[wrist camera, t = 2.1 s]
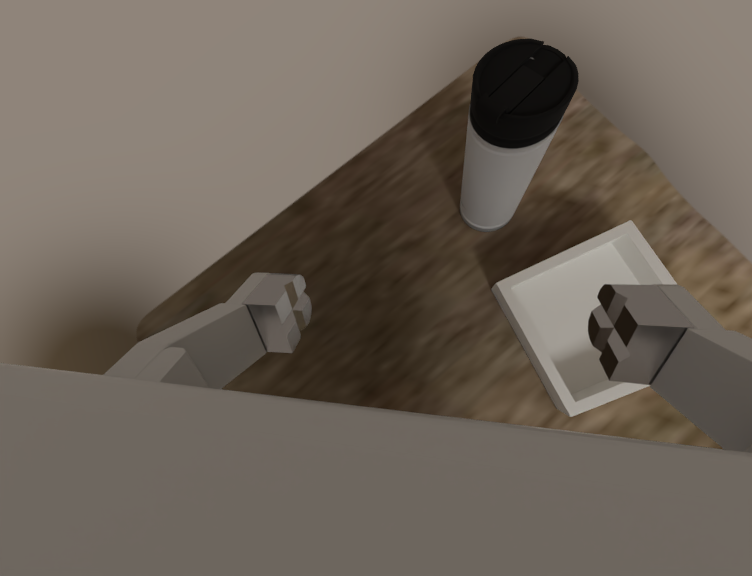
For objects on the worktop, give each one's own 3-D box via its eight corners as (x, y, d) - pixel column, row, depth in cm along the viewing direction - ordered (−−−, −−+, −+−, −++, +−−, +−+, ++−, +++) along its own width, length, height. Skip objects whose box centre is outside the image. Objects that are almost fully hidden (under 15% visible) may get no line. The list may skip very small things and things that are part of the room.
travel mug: (446, 212, 39) (446, 84, 20) (485, 173, 39) (523, 6, 20) (485, 245, 37) (526, 140, 18) (526, 205, 37) (611, 56, 18)
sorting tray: (692, 353, 31) (727, 354, 27) (556, 408, 33) (570, 417, 29) (610, 233, 35) (631, 219, 31) (490, 289, 36) (496, 282, 33)
